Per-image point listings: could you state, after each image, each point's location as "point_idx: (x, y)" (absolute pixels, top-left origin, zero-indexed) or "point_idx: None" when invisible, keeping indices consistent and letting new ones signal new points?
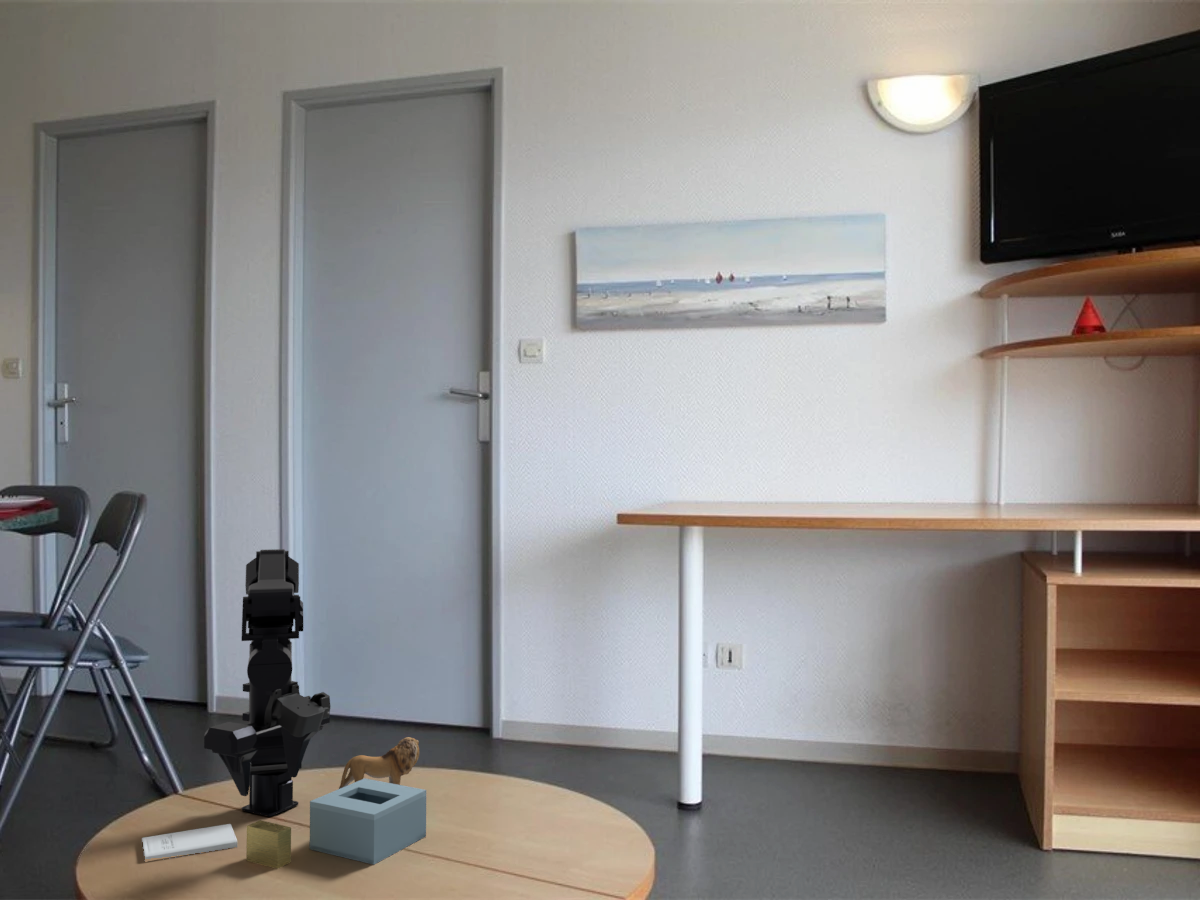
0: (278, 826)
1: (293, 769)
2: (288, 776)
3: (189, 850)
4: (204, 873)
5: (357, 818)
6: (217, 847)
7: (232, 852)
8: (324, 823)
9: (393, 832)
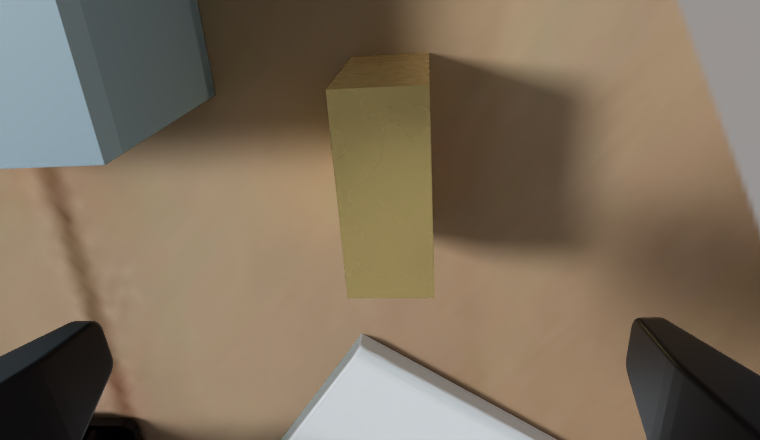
0: (355, 160)
1: (64, 375)
2: None
3: (494, 415)
4: (592, 259)
5: None
6: (418, 370)
7: (404, 314)
8: (132, 19)
9: None
